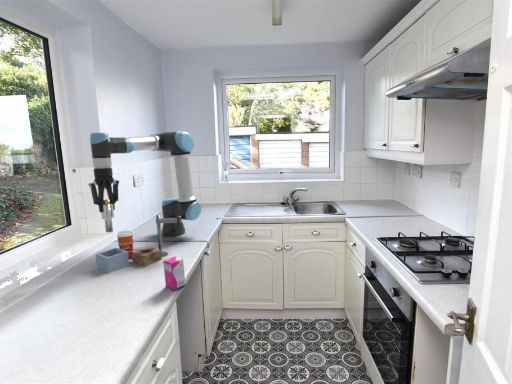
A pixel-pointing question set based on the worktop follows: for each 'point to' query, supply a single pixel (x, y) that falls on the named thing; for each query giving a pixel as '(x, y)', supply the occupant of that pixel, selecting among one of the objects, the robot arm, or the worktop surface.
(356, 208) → the worktop surface
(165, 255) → the base
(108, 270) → the blue open box
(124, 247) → the paper cup
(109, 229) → the pin
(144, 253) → the socket block
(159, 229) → the grey tall angled piece
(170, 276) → the supplement box
